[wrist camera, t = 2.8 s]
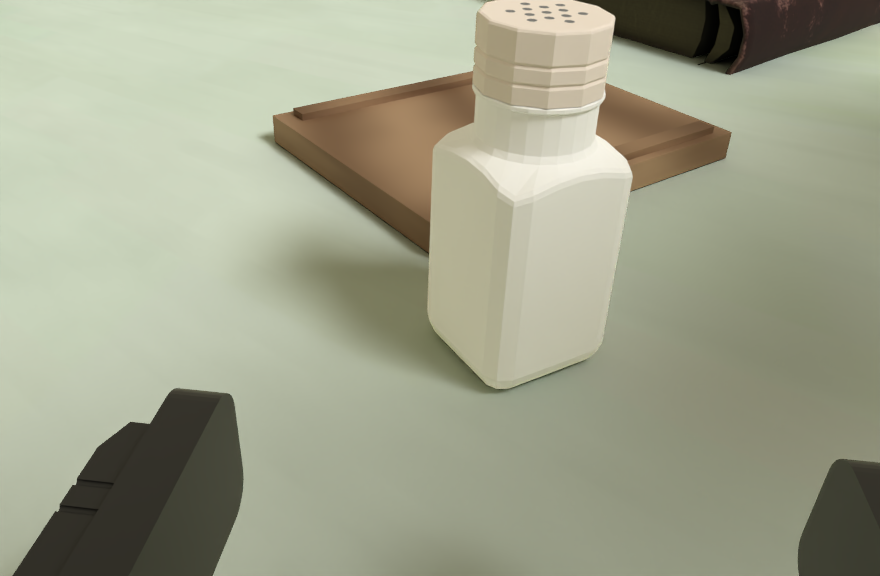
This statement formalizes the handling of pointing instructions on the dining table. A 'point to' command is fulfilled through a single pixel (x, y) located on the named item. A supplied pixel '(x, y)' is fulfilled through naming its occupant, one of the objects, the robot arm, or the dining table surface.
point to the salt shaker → (528, 196)
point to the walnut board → (449, 108)
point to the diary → (738, 25)
